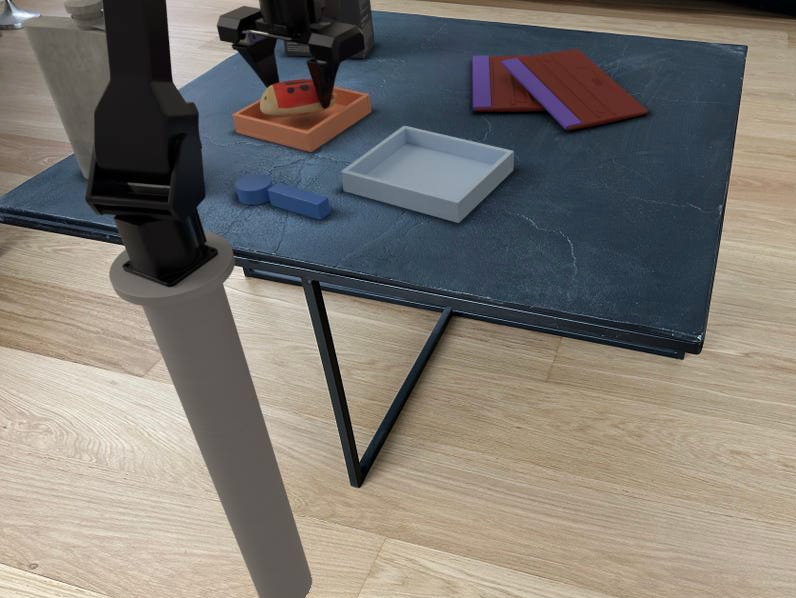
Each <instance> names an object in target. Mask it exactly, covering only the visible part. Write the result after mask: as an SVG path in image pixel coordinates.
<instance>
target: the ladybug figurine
mask: <svg viewBox="0 0 796 598" xmlns="http://www.w3.org/2000/svg"><path fill="white" fill-rule="evenodd" d="M296 79H297V80H296ZM296 79H292V80H290V79H289V80H285V81H284V80H283V81H279V82H280V83H276V84H273V85H271V86H269V87H268V88H266V89H265V90H264V92H263V93H262V96H261V98H260V99H261V102H260V110H261V112H262V113H264V114H266V115H268V116H273V117H295V116H303V115H309V114H314V113H318V112H321V111H324V110H326V109H328V108H330V107H332V106H333V105H334V103H335V100H336V99H337V95H336V93H332V98H331V103H330V106H329V107H327V108H326V109H324V108H322V105H321V103H320V101H319V99H318V96H317V93H316V90H315V87H314V84H313V81H312V78H296Z"/></svg>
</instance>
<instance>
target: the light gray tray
mask: <svg viewBox="0 0 796 598" xmlns="http://www.w3.org/2000/svg"><path fill="white" fill-rule="evenodd" d="M514 164H515V151H514V150H511V149H507V148H502V147H498V146H493V145H489V144H487V143H482V142H477V141H473V140H468V139H464V138H460V137H455V136H452V135H447V134H443V133H438V132H433V131H430V130H425V129H421V128H416V127H412V126H409V125H408V126H407V125H402V126H401V127H400V128H398V129H397V130H395V131H394V132H393V133H392V134H390V135H389V136H388V137H386V138H384V139H383V140H382V141H381V142H379V143H378V144H377V145H375V146H373V147H372V148H371V149H370V150H368V151H367V152H365V153H364V154H363V155H361V156H360V157H358V158H357V159H356V160H354V161H353V162H352V163H350V164H349V165H348V166H346V167H345V168H343V169H342V170H340V176H341V181H342V189H343V192H346V193H349V194H353V195H356V196H360V197H363V198H366V199H367V198H368V199H371V200H375V201H377V202H381V203H385V204H389V205H392V206H396V207H400V208H403V209H406V210H410V211H413V212H418V213H420V214H424V215H427V216H432V217H436V218H439V219H442V220H446V221H449V222H453V223H457V224H460V223H461V222H462V221H463V220H464V219H465V218H466V217H467V216H469V214H470V213H471V212H472V211H474V210H475V208H476V207H478V205H479V204H480V203H481V202H483V201H484V200H485V199H486V198H487V197H488V196H489V195H490V194H491V193H492V192H493V191H494V190H495V189H496V188H497V187H498V186H499V185H500V184H501V183H503V181H504V180H505V179H506V178H507V177H509V175H510V174H511V173H512V172H514V169H515V167H514V166H515V165H514Z"/></svg>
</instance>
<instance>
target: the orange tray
mask: <svg viewBox="0 0 796 598" xmlns="http://www.w3.org/2000/svg"><path fill="white" fill-rule="evenodd" d="M297 79H298V78H296V79H295V80H297ZM333 93H336V95H337V99H336V100H335V103H334V105H333V106H332V107H330V108H328V109H326V110H324V111H321V112H318V113H314V114H309V115H303V116H295V117H273V116H268V115H266V114H264V113H262V112H261V110H260V102H261V98H259V99H257V100H256V101H254V102H252V103H250V104H249V105H247V106H245V107H244V108H241V109H240V110H238V111H236V112H234V113H232V119H233V124H234V128H235V133H236V134H239V135H244V136H247V137H251V138H255V139H257V140H258V139H259V140H261V141H265V142H266V141H267V142H271V143H273V144H277V145H280V146H281V145H282V146H286V147H290V148H292V149H296V150H300V151H305V152H308V153H312V152H314V151H315V150H317V149H318V148H320V147H321V146H323V145H324V144H326V143H327V142H329V141H331V140H332V139H334V138H335V137H337V136H338V135H340V134H341V133H342V132H344V131H345V130H347V129H348V128H350V127H352V126H353V125H354V124H356V123H358V122H359V121H360V120H362V119H364V118H365V117H367V116H368V115H369V114H371V113H372V107H371V106H372V105H371V104H372V103H371V95H370V93H365V92H361V91H357V90H351V89H347V88H344V87H343V88H342V87H338V86H334V88H333Z"/></svg>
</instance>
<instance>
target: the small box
mask: <svg viewBox="0 0 796 598" xmlns="http://www.w3.org/2000/svg"><path fill="white" fill-rule="evenodd" d="M322 19H323V21H322V22H320V23H318V24H312V28H313V29H320V28H323V27H325V26H327V25H329V24H331V23H333V22H339V23H344V24H350V25H356V26H358V27H359V28H360V30H361V31H362V32H363V35H364V44H365V49H364V50H362V51H361V52H359V53H357V54H355V55H353V56H352V57H350V58H349V59H365V58H366V57H367V55H368V54H369V53H370V52H371V50H372V49H373V48H374V46H375V44H376V39H375V31H374V23H373V14H372V5H371V0H340V8H339V20H334V19H332V18H330V17H323V16H322ZM298 35H300V34H298ZM282 41H283V46H284V55H285V56H286V57H311V58H313V56H312V54H311V53H310V51H309V45H306V44H301V43H295V42H290V41H285V40H282Z"/></svg>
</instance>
